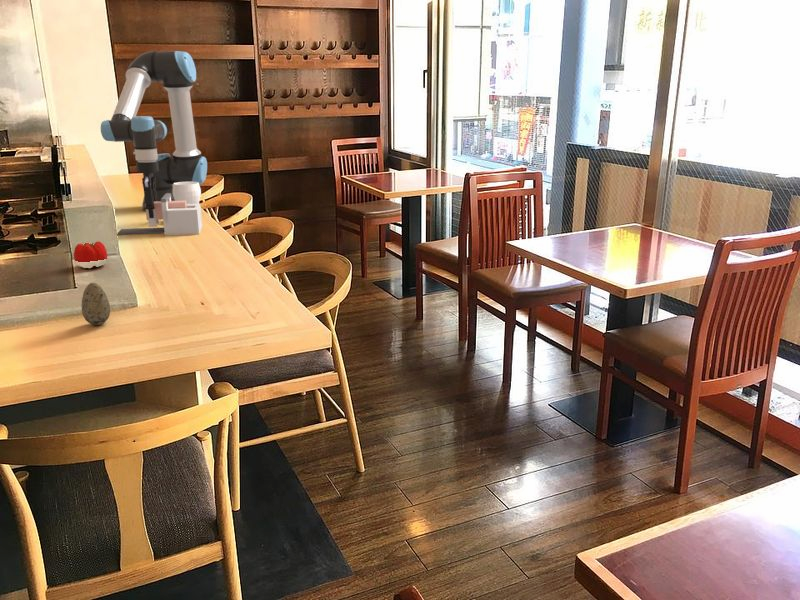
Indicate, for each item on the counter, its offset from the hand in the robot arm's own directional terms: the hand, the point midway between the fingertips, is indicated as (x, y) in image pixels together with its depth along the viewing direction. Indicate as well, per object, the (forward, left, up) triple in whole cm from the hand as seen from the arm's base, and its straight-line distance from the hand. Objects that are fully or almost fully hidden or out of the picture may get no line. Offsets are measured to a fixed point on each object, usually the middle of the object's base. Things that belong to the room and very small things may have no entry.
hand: (154, 225), depth 249 cm
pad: (-1, -5, -3) cm, 5 cm away
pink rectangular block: (0, +5, +2) cm, 6 cm away
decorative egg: (+101, +2, -3) cm, 101 cm away
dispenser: (0, +10, -3) cm, 11 cm away
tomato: (+48, -11, -3) cm, 49 cm away
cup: (-19, +10, -3) cm, 22 cm away
